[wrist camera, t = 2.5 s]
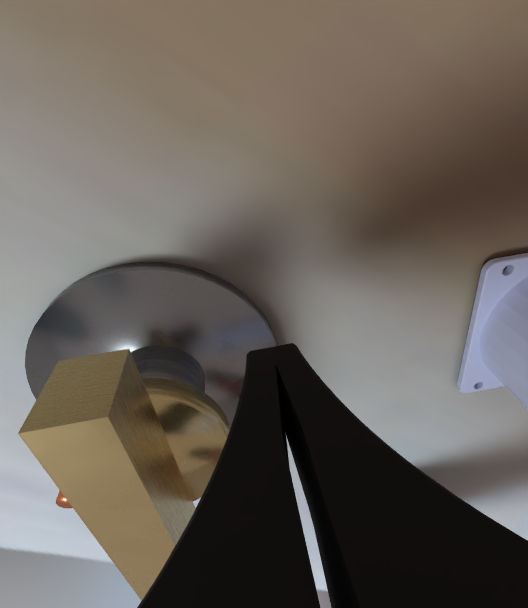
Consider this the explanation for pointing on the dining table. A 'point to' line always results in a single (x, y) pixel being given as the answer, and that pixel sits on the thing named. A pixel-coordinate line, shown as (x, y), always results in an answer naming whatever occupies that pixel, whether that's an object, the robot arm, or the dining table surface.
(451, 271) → the dining table surface
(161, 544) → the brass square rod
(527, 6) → the dining table surface
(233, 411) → the post base
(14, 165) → the dining table surface
